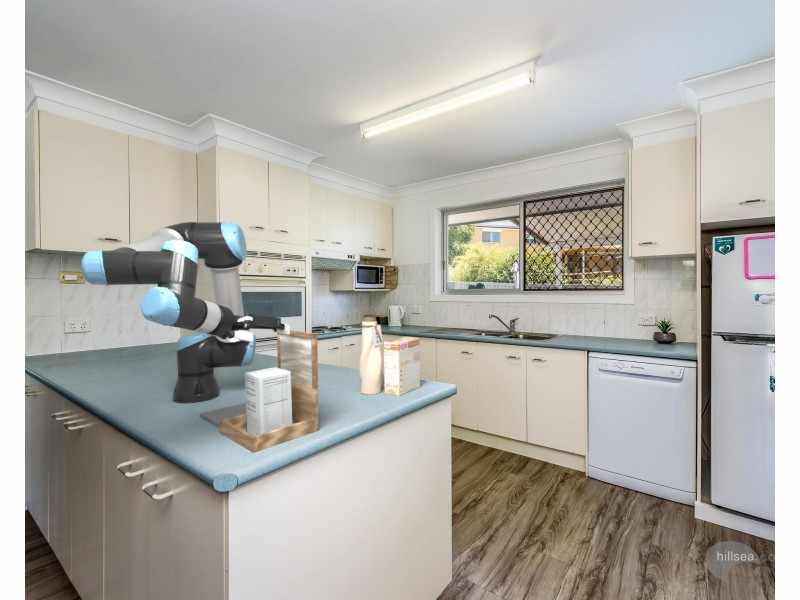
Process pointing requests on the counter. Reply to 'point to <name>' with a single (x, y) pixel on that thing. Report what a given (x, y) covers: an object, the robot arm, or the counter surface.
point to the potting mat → (224, 413)
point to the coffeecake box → (401, 365)
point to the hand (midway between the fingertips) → (270, 333)
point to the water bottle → (371, 357)
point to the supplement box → (268, 400)
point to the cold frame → (302, 362)
